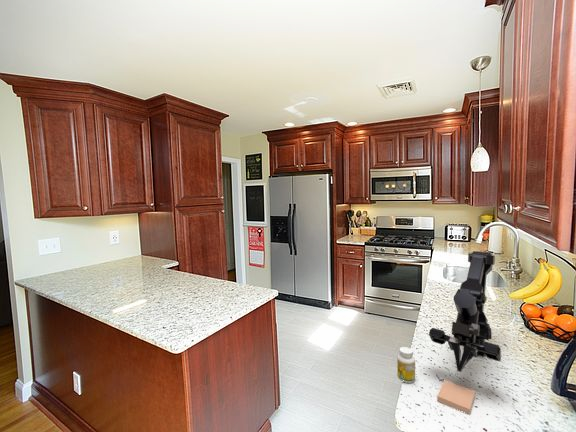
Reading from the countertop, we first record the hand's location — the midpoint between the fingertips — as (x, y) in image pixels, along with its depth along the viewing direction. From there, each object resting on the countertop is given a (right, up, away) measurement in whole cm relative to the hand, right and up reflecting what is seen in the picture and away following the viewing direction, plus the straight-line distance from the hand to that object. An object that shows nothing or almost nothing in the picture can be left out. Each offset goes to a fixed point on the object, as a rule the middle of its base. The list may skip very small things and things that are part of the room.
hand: (458, 371), depth 84 cm
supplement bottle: (-12, -7, +8) cm, 16 cm away
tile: (+1, -6, +2) cm, 7 cm away
